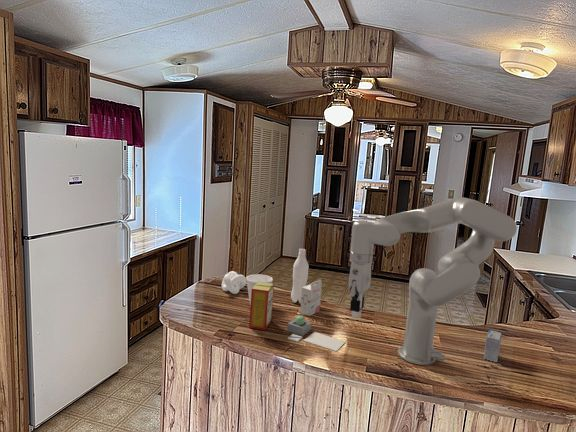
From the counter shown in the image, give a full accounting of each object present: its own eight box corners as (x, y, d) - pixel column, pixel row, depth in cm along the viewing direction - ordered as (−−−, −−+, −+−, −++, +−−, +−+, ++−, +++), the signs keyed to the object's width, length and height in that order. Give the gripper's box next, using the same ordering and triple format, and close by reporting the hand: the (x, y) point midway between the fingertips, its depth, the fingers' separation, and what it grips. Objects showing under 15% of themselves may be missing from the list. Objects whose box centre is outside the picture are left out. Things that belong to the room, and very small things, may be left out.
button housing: (311, 329, 156) (311, 322, 155) (303, 336, 150) (303, 328, 149) (295, 324, 159) (296, 317, 159) (286, 331, 153) (287, 323, 153)
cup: (270, 311, 171) (272, 283, 169) (242, 309, 171) (244, 281, 169) (271, 301, 183) (273, 275, 181) (246, 299, 183) (247, 273, 181)
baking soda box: (265, 330, 152) (268, 290, 150) (249, 327, 154) (251, 287, 151) (271, 320, 162) (274, 282, 159) (255, 318, 163) (258, 280, 160)
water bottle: (309, 302, 186) (313, 249, 182) (298, 305, 180) (303, 251, 177) (297, 297, 190) (301, 246, 187) (287, 300, 185) (291, 248, 181)
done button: (305, 326, 155) (306, 316, 154) (301, 329, 152) (302, 319, 151) (297, 324, 156) (298, 314, 156) (293, 327, 153) (294, 317, 153)
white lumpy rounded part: (214, 290, 192) (215, 272, 190) (232, 285, 201) (233, 268, 200) (229, 296, 185) (230, 278, 183) (248, 291, 194) (249, 273, 192)
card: (302, 337, 148) (302, 336, 148) (297, 341, 145) (297, 340, 144) (292, 334, 150) (292, 333, 150) (287, 338, 147) (287, 337, 146)
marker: (362, 315, 138) (365, 283, 136) (359, 319, 135) (361, 285, 134) (353, 313, 140) (355, 281, 138) (349, 316, 137) (352, 283, 135)
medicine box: (496, 363, 140) (500, 340, 138) (482, 359, 142) (486, 336, 141) (498, 355, 146) (502, 332, 145) (485, 351, 149) (488, 329, 147)
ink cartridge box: (310, 307, 178) (313, 276, 176) (319, 311, 176) (322, 279, 173) (299, 313, 172) (302, 280, 170) (308, 316, 169) (311, 283, 167)
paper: (345, 342, 147) (345, 341, 147) (336, 351, 139) (336, 350, 139) (314, 332, 153) (314, 331, 153) (303, 341, 146) (303, 340, 146)
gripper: (363, 264, 125) (359, 319, 128) (379, 254, 140) (374, 304, 142) (341, 260, 129) (337, 314, 132) (358, 251, 143) (354, 300, 146)
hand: (356, 308), depth 137 cm, fingers closed on marker, 3 cm apart
